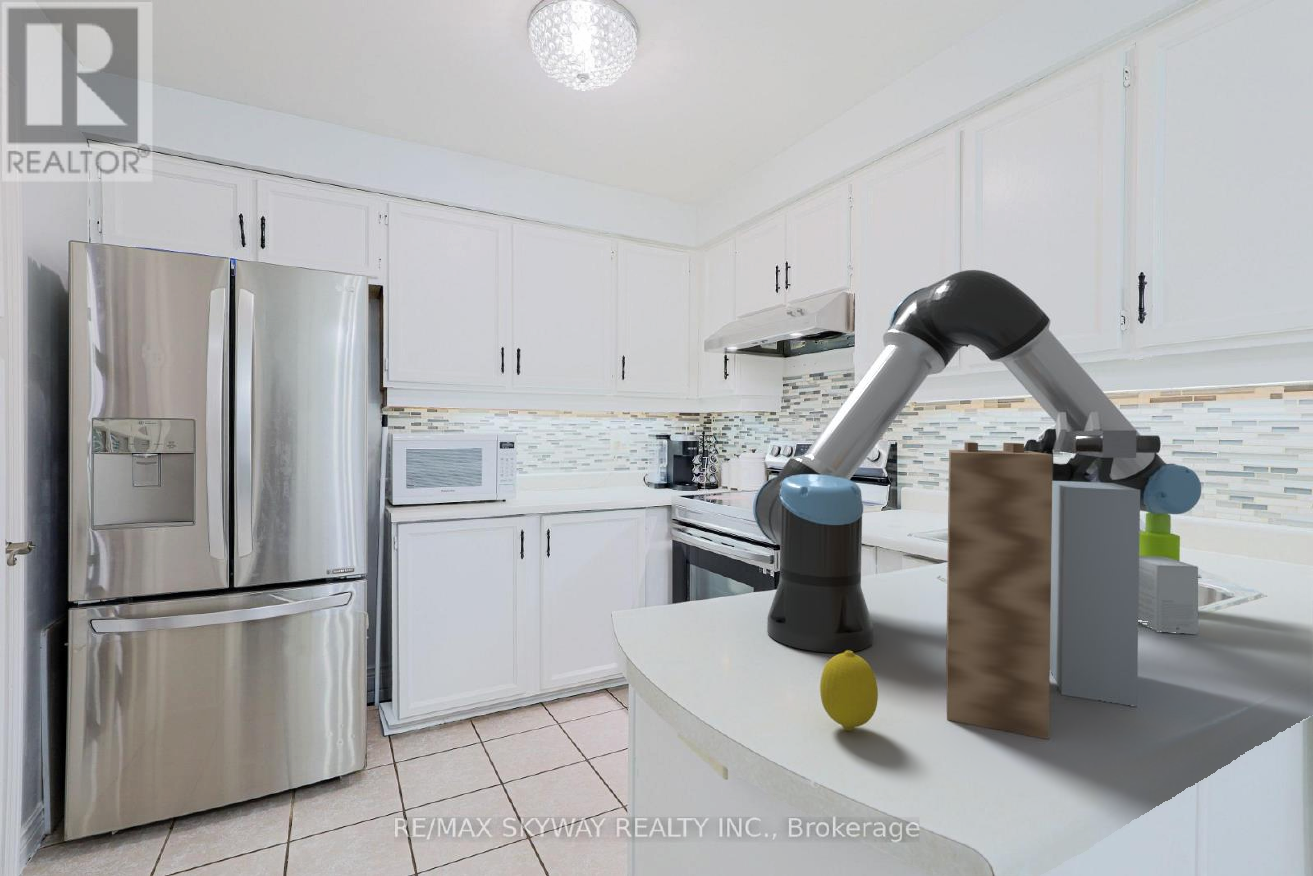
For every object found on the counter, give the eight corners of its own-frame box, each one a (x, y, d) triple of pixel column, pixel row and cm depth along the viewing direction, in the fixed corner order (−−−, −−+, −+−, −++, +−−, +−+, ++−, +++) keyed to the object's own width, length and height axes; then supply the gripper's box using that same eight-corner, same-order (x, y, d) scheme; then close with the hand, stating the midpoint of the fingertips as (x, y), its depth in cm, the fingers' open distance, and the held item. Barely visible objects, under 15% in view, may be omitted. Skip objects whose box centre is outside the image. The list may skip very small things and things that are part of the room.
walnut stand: (946, 719, 63) (950, 442, 63) (946, 662, 79) (949, 442, 79) (1048, 739, 59) (1052, 444, 59) (1025, 674, 75) (1029, 443, 75)
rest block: (1061, 694, 69) (1064, 487, 69) (1045, 660, 80) (1048, 480, 80) (1137, 707, 66) (1140, 490, 66) (1109, 669, 77) (1112, 482, 77)
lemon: (811, 718, 63) (812, 642, 63) (862, 716, 63) (864, 641, 63) (831, 745, 57) (832, 661, 57) (887, 743, 58) (888, 660, 58)
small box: (1198, 636, 91) (1200, 566, 91) (1156, 633, 92) (1157, 564, 92) (1165, 620, 99) (1166, 556, 99) (1127, 617, 100) (1128, 554, 100)
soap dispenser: (1121, 603, 109) (1122, 492, 109) (1163, 605, 108) (1165, 493, 108) (1142, 612, 103) (1144, 496, 103) (1187, 614, 102) (1189, 497, 102)
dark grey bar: (1078, 457, 63) (1078, 430, 63) (1039, 450, 88) (1039, 431, 88) (1162, 458, 60) (1162, 430, 60) (1097, 451, 85) (1097, 431, 85)
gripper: (1115, 519, 93) (1159, 446, 75) (997, 513, 100) (1011, 444, 81) (1109, 476, 96) (1150, 395, 78) (996, 473, 103) (1008, 398, 85)
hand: (1079, 420), depth 80 cm, fingers closed on dark grey bar, 3 cm apart
